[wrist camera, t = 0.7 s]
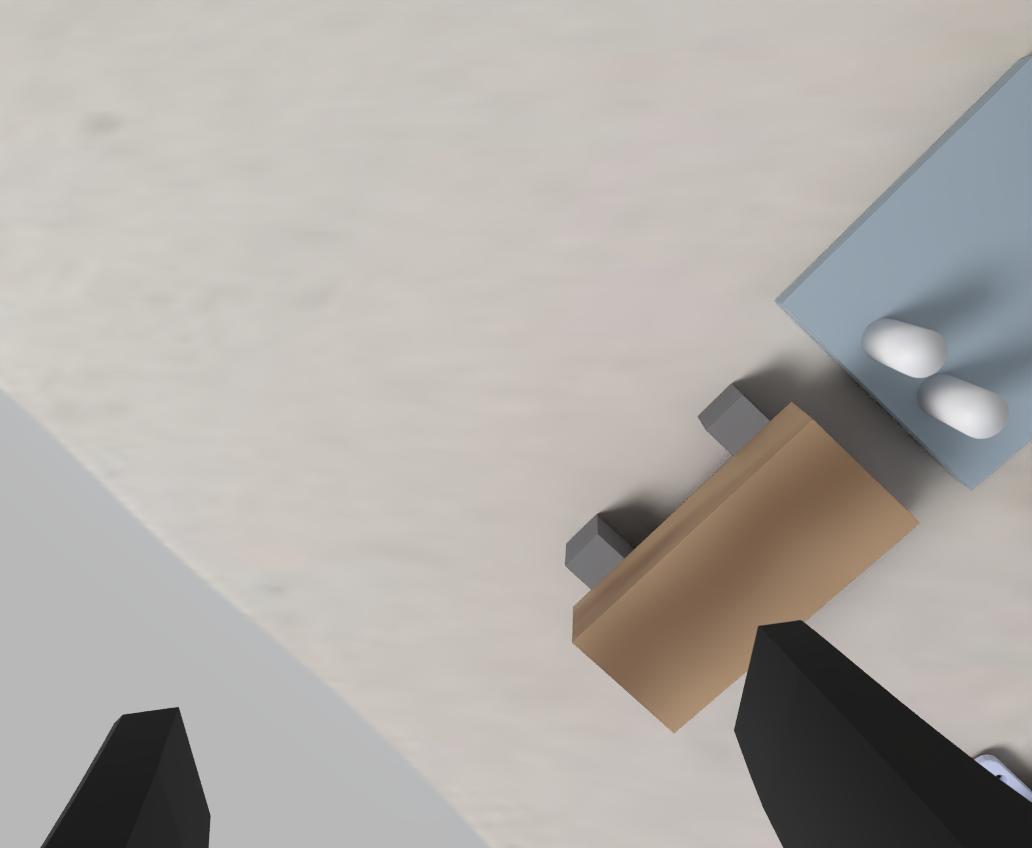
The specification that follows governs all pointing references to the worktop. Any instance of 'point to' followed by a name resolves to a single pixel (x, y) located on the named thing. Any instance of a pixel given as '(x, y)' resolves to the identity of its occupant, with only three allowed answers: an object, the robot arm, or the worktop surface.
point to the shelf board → (737, 566)
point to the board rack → (604, 546)
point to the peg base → (942, 289)
